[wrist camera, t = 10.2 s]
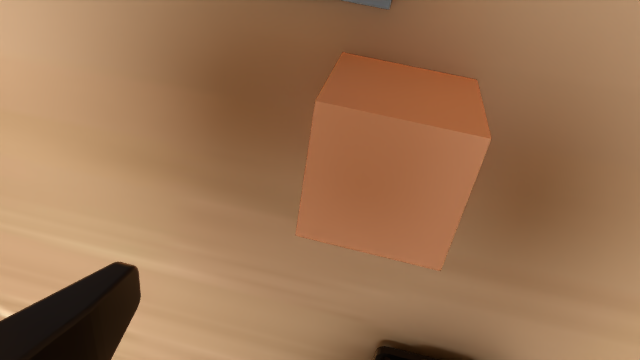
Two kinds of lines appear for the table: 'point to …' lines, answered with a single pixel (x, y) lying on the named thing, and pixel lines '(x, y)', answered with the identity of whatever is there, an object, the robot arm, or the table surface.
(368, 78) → the terracotta block
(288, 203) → the table surface
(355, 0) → the board
